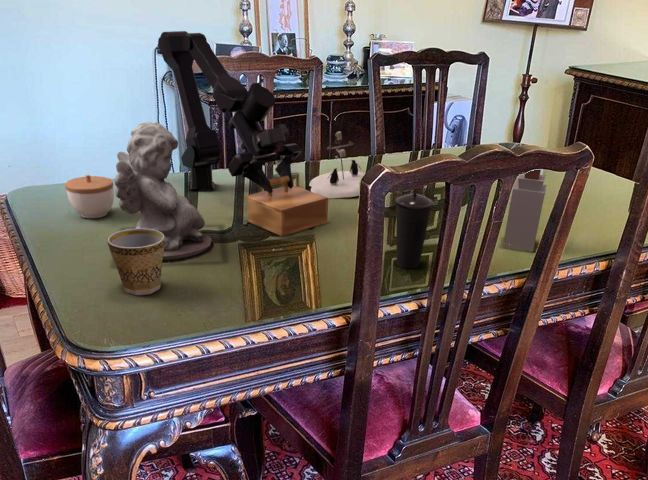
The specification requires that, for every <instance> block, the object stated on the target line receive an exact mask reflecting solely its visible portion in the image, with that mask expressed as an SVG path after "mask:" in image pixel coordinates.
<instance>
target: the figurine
mask: <svg viewBox="0 0 648 480" xmlns="http://www.w3.org/2000/svg"><path fill="white" fill-rule="evenodd" d="M334 136H335V137H336V138H335V145H336V144H338V145H337V146H330V145H328V146H327V145H325V144H322V146H323V147H324V148H326V151H330V150H331V151H332V150H335V151H336V152H337V153H338V154H339V157H340V165H341V170H340V171H338V168H337V167H336V168H333V171H331V172H327V173H323V174H320V175H316V177H314V178H312V179H311V180H310V181H309V185H308V186H309V187H311V188H310V191H311V192H314V193H316V194H319V195H322V196H325V197H328V199H340V198H341V199H342V198H352V197H359V182H360V179H361V177H362V176H363V175H364V174H365V173H364V172H362V171H359V169H360V170H362V167H360V165H359V164H358V163H357V161H356V159H351V164H350V168H349V170H344V166H343V159H345V157H347V155H346V150H345V148H347V147H350V146H354V144H355V143H353V140H352V141H350V140H348V141H347V142H348V143H347V144H342V143H343V135H342V131H336V133H335V134H334ZM341 144H342V145H341Z"/></svg>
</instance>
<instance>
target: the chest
mask: <svg viewBox="0 0 648 480" xmlns="http://www.w3.org/2000/svg"><path fill="white" fill-rule="evenodd" d="M246 200H247V199H246ZM246 203H247V223H250V224H251V225H254V226H256V227H259V228H262V229H264V230H267V231H269V232H271V233H273V234H275V235H278V236H280V237H284V236H288V235H291V234H294V233H298V232H301V231H305V230H308V229H311V228H315V227H318V226H322V225H325V224H328V223H329V200H328V201H325V202H322V203H318V204H314V205H311V206H307V207H303V208H299V209H296V210H292V211H288V212H285V213H280V212H277V211H275V210H272V209H270V208H267V207H265V206H262V205H260V204H257V203H255V202H252V201H250V200H247V202H246Z"/></svg>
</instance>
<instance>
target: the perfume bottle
mask: <svg viewBox="0 0 648 480" xmlns="http://www.w3.org/2000/svg"><path fill="white" fill-rule="evenodd" d="M541 172H542V169H541V170H534V171H530V172H528V173H526V174H524V175H521V176H519V175H518V178H517V180H515V182H514V185H513V187H512V190H511V191H512V192H511V196H510V203H509V208H508V213H507V214H508V215H507V219H506V223H505V224H506V225H505V231H504V236H503V241H502V248H503V249H507V250H508V249H509V250H514V251H521V252H528V253H533V252H534V248H535V244H536V239H537V236H538V235H537V234H538V230H539V224H540V220H541V216H542V215H541V214H542V211H543V205H544V200H545V196H546V192H547V191H546V190H547V186H548V185H547V184H544V182H545V178H546V174H541ZM503 243H505V244H503ZM509 244H510V245H509Z"/></svg>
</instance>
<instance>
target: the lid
mask: <svg viewBox="0 0 648 480" xmlns="http://www.w3.org/2000/svg"><path fill="white" fill-rule="evenodd" d="M268 181H269V183H270V185H271V187H272V190H273V192H272V193H268V192H267V191H266V190H263V191H259V192H254V193H251V194H246V195H244V198H245V200H250V201H252V202H255V203H257V204H260V205H262V206H265V207H267V208H270V209H272V210H275V211H277V212H280V213H285V212H288V211H292V210H296V209H299V208H303V207H307V206H311V205H314V204H318V203H322V202H325V201H328V202H329V198H328V197H325V196H322V195H319V194H316V193H314V192H311V190H308V189H304V188H302V187H299V186H297V185H294V184H293V187H292V188H291V189H290V188H289V187H288V182H289V181H290V178H289V176H282V177H280V176H278V177H274V178H268ZM282 184H283V186H280V187H276V188H273V187H274V186H279V185H282Z"/></svg>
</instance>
